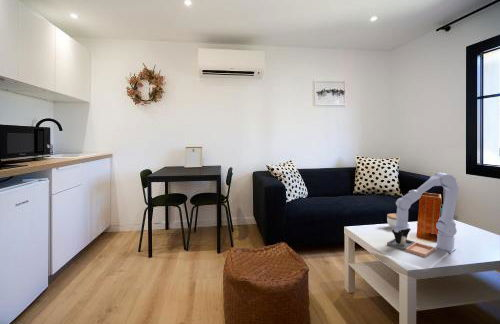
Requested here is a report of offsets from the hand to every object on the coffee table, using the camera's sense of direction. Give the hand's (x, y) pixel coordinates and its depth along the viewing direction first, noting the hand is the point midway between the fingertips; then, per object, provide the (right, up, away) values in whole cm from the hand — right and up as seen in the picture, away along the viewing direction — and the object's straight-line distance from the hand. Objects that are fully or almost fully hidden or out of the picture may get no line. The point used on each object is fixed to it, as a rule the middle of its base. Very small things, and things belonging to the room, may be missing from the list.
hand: (401, 241), depth 148 cm
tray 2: (+6, -4, -8) cm, 11 cm away
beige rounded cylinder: (0, -2, 0) cm, 2 cm away
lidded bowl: (+15, -1, +30) cm, 34 cm away
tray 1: (0, -3, 0) cm, 3 cm away
